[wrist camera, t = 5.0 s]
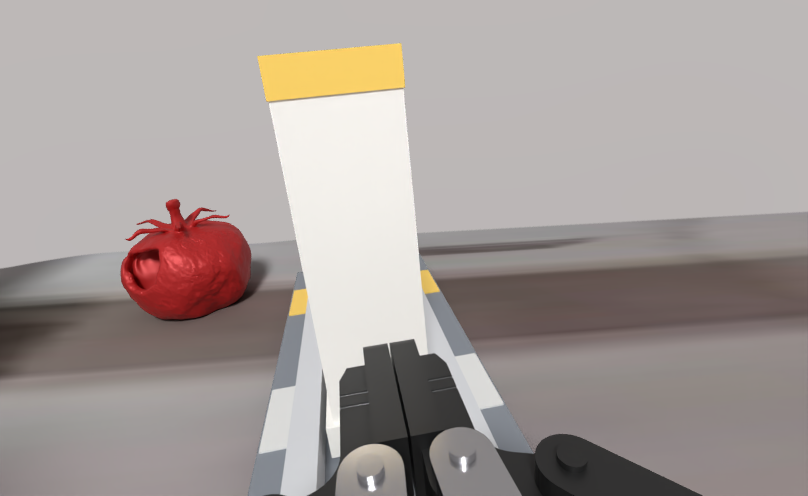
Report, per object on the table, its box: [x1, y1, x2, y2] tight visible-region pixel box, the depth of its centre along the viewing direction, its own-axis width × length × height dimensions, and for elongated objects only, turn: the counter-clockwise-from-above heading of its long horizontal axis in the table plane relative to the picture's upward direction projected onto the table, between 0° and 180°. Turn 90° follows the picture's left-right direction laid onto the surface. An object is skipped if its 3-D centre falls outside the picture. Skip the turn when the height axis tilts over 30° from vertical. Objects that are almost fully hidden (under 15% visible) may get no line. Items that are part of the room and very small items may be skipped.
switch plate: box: [248, 254, 534, 496], centre depth 25 cm, size 24×11×3 cm, turn 9°
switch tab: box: [258, 43, 428, 458], centre depth 16 cm, size 4×5×15 cm
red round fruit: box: [121, 199, 251, 319], centre depth 34 cm, size 10×10×9 cm
